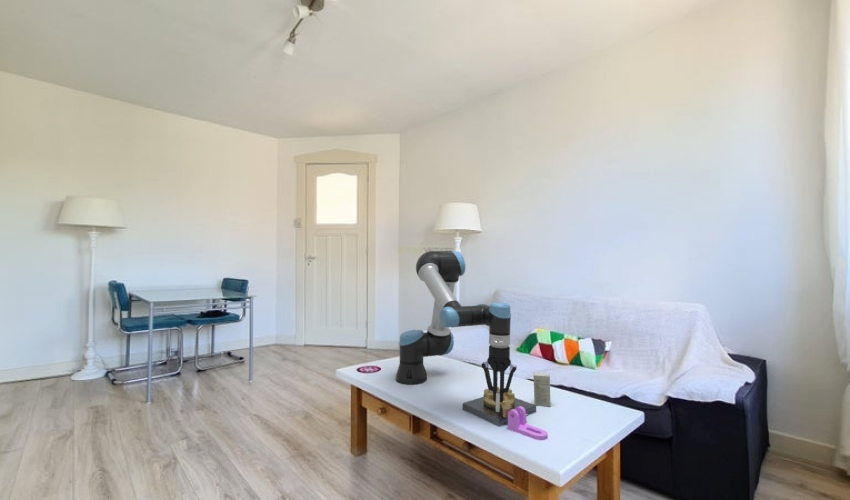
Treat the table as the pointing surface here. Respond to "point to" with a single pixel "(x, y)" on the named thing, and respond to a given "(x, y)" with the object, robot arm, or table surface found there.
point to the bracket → (524, 424)
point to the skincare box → (542, 389)
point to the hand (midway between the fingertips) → (498, 410)
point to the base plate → (490, 414)
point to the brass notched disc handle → (505, 405)
